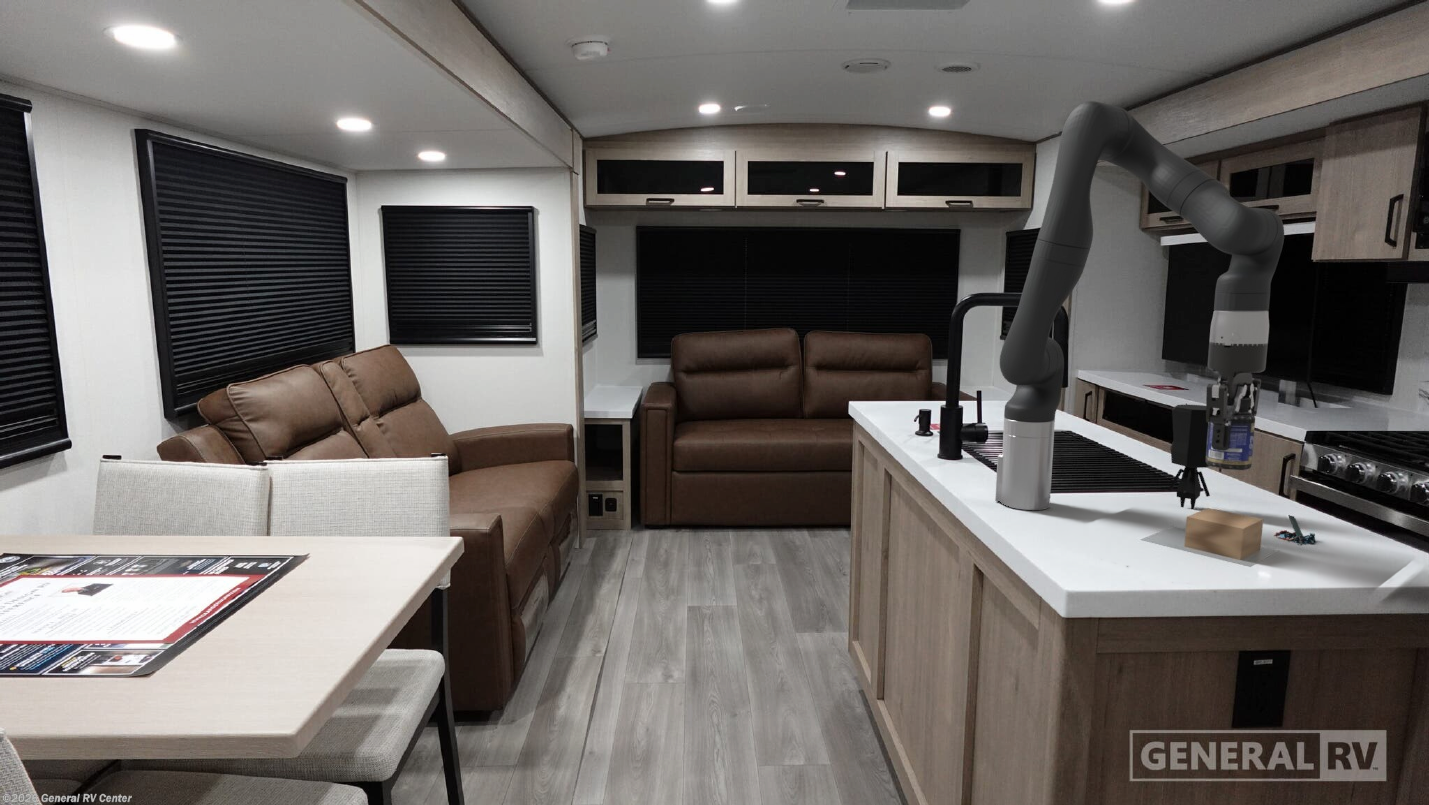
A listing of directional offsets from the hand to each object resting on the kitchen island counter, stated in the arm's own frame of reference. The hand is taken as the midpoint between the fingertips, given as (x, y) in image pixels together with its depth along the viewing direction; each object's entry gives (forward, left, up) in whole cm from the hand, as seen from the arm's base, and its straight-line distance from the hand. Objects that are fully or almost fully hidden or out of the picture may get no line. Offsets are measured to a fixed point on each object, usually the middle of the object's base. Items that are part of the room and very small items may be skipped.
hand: (1229, 446), depth 124 cm
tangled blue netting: (+6, +15, -19) cm, 25 cm away
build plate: (-2, +1, -18) cm, 18 cm away
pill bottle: (0, 0, -3) cm, 3 cm away
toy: (-15, +25, -18) cm, 34 cm away
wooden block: (0, +1, -17) cm, 17 cm away
